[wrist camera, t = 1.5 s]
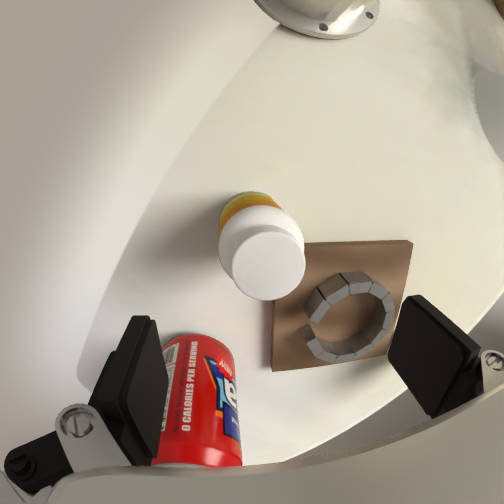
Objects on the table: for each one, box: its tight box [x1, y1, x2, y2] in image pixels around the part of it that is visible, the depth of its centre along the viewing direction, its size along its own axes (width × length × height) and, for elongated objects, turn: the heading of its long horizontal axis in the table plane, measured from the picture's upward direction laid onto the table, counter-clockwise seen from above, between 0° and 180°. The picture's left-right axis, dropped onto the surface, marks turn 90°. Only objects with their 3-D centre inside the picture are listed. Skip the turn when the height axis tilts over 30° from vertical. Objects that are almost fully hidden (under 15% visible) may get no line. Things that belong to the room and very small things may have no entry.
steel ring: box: [300, 271, 395, 363], centre depth 25 cm, size 9×9×2 cm
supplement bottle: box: [218, 191, 305, 301], centre depth 19 cm, size 5×5×10 cm
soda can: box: [151, 334, 242, 468], centre depth 21 cm, size 8×8×15 cm
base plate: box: [271, 240, 413, 372], centre depth 27 cm, size 14×14×1 cm
